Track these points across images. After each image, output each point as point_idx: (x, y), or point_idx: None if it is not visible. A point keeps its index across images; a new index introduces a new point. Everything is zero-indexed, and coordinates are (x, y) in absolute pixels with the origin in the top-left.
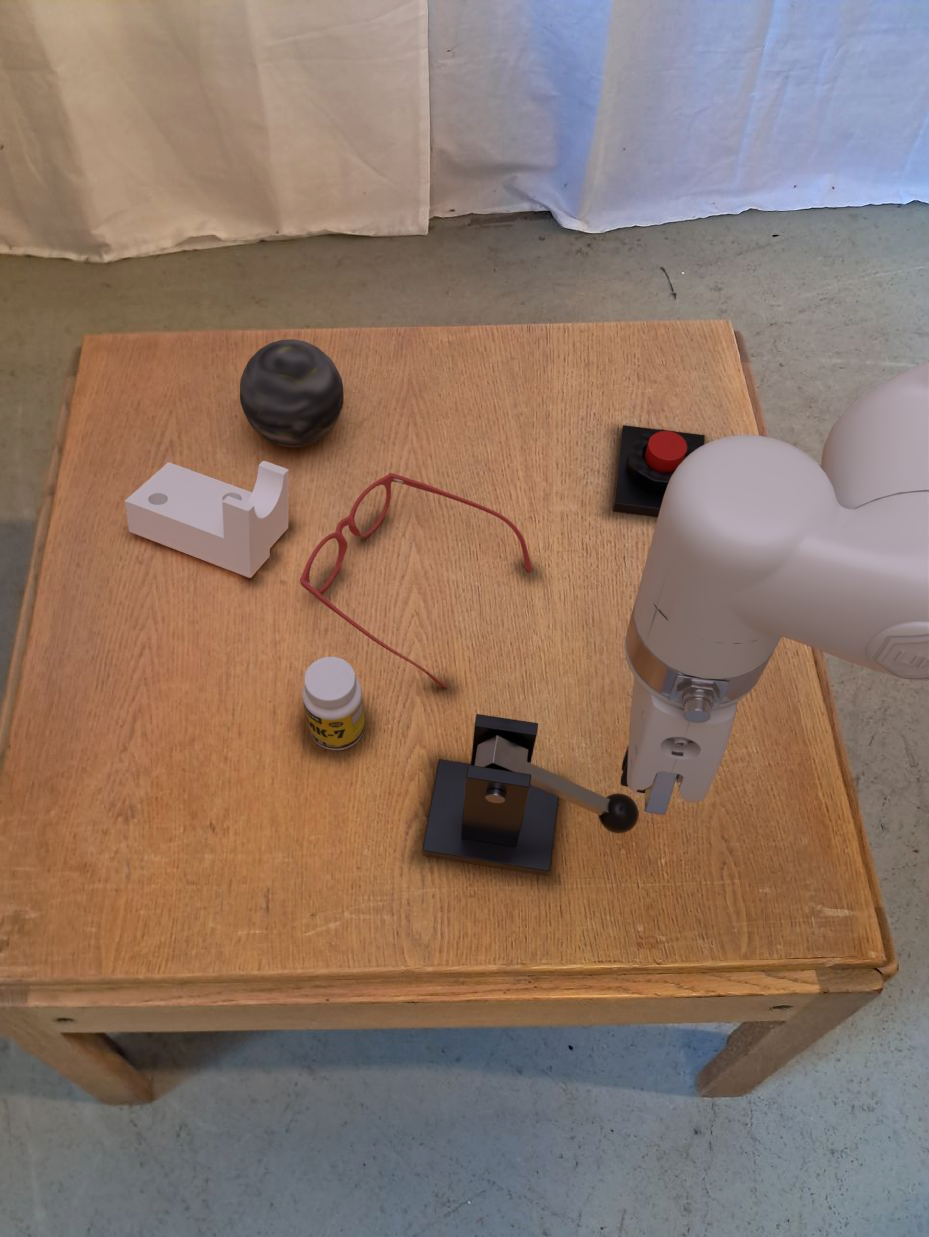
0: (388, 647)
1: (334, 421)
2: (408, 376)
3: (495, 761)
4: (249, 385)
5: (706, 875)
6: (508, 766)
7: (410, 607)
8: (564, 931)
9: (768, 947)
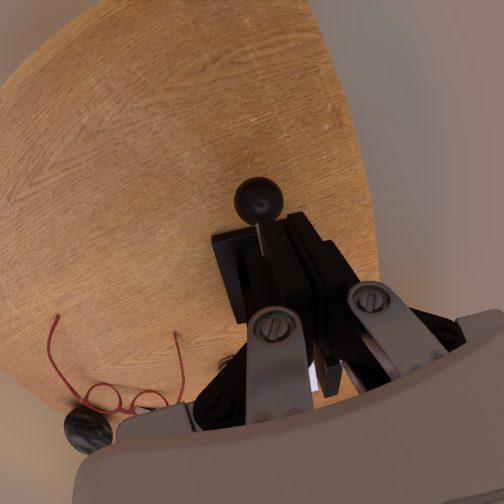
0: (183, 385)
1: (81, 417)
2: (31, 382)
3: (315, 388)
4: None
5: (252, 75)
6: (313, 374)
7: (134, 361)
8: (344, 188)
9: (305, 15)
